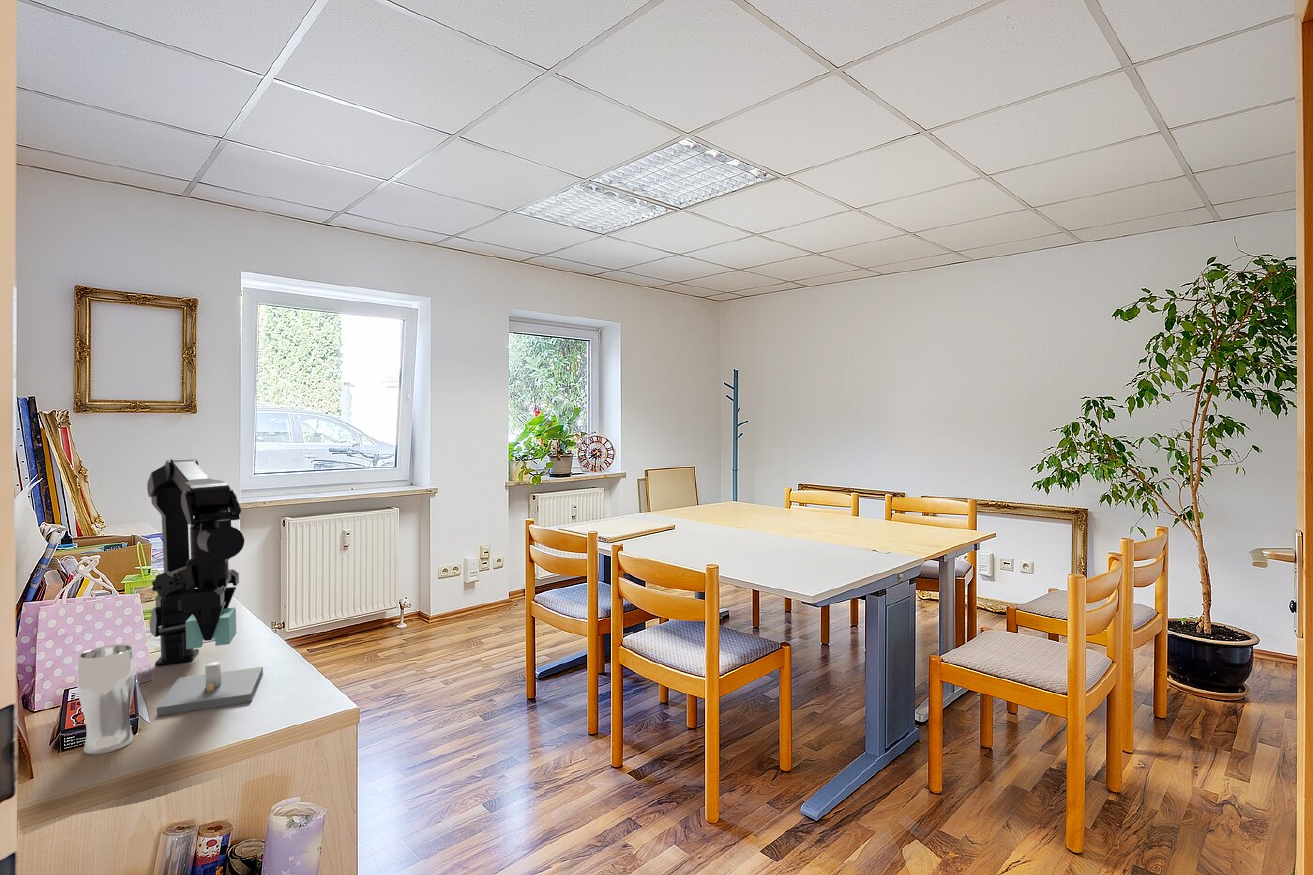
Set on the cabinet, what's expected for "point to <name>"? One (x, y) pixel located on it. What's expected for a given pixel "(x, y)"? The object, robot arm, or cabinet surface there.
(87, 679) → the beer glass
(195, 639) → the collar
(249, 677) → the base
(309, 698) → the cabinet surface
